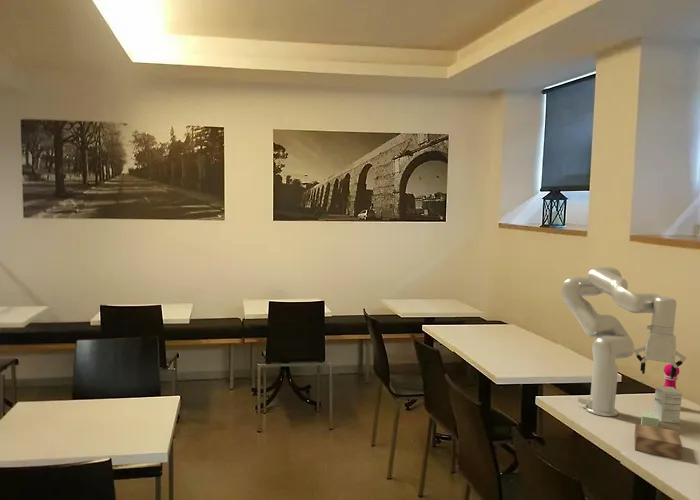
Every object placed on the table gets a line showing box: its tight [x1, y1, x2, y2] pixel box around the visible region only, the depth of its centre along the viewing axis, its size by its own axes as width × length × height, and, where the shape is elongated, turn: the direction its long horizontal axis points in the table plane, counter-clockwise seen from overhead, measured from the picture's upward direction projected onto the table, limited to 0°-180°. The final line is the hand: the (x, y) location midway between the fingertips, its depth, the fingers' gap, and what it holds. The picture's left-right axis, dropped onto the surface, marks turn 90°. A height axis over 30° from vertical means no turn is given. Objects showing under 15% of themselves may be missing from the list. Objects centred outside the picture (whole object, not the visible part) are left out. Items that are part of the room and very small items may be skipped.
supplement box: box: [652, 385, 683, 424], centre depth 247 cm, size 7×7×13 cm
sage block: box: [640, 411, 660, 428], centre depth 230 cm, size 6×6×7 cm
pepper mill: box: [663, 363, 680, 389], centre depth 264 cm, size 7×7×20 cm
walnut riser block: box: [633, 423, 683, 460], centre depth 216 cm, size 14×14×5 cm
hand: (657, 375), depth 228 cm, fingers open, 9 cm apart
